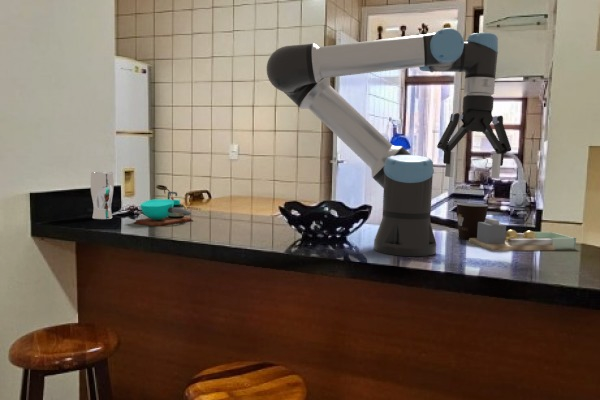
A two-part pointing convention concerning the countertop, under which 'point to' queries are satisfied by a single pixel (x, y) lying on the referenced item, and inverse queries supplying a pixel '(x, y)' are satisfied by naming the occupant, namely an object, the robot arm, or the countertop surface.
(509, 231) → the brass ball
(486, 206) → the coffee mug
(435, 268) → the countertop surface
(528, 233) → the brass ball
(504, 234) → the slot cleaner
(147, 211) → the contraption on wooden base
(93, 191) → the beer glass
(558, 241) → the tray
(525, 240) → the jig board
